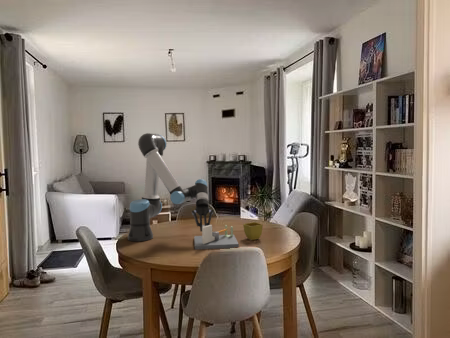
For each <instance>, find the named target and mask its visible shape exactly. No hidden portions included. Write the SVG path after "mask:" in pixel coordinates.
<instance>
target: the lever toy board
mask: <svg viewBox="0 0 450 338" xmlns="http://www.w3.org/2000/svg"><path fill="white" fill-rule="evenodd" d="M233 226H234V225H233ZM233 226H232V225H231V226H230V234H228V225H227V224H224V229H227V230H226V231H224V234H219V240H214V241H211V242H208V243H205V244H203V243H202V235H194V238H193V239H194V250H213V249H214V250H215V249H218V250H219V249H235V248H234V247H239V248H240V245H239V242H238V240H237V238H236V235H235V234H234V227H233Z"/></svg>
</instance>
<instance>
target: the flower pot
mask: <svg viewBox="0 0 450 338" xmlns="http://www.w3.org/2000/svg"><path fill="white" fill-rule="evenodd" d="M242 225H243V232H244V235H245V237H246V238H247V239H249V240H250V241H255V240H259V239H260V238H261V236H262V234H263V224H261V223H260V222H255V221H254V222H248V223H247V222H246V223H243V224H242Z"/></svg>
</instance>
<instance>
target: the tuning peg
mask: <svg viewBox="0 0 450 338" xmlns="http://www.w3.org/2000/svg"><path fill="white" fill-rule="evenodd" d="M226 230H227V231H228V228H227V229H225V228H224V229H222V230H218V231H213V224H210V225H208V226H204V227H202V232H201V236H202V243H203V244H205V243H208V242H211V241H214V240H219V235H220V233H224V232H225V231H226Z"/></svg>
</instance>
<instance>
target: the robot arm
mask: <svg viewBox="0 0 450 338" xmlns="http://www.w3.org/2000/svg"><path fill="white" fill-rule="evenodd" d="M137 146H138V148H139V151H140V152H141V154H142V156H143V157H144V158H145V159H146V163H145V165H146V166H145V177H144V178H145V179H144V192H143V193H144V194H143V195H141V199H135V200H132V201H131V202H130V203H129V224H130V225H129V231H128V233H127V240H128V241H129V242H145V241H150V240H152V239H153V238H154V233H153V230H152V228H151V223H150V222H151V220H150V219H151V218H155V217H157V216H158V215H159V214H160V213H161V211H162V209H163V203H162V202H161V196H160V195H159V184H160V183H159V182H160V181H161V182H162V183H163V185H164V187H165V188H166V191H167V192H168V193H169V195H170V201H171V202H172V203H173V204H175V205H178V204H179V205H180V204H182V203H185V202H188V201H191V200H192V199H195V209H194V210H191V215H192V216H193V218H194V221H195V225H196V226H197V227H199V231H200V232H201V233H202V227H204V226H208V225H211V220H212V216H213V214H214V209H210V206H209V204H210V203H209V195H208V192H209V191H208V183H207V181H206V180H205V179H202V178H201V179H197V180H196V181H195V183H194V185H191V186H188V187H186V188H183V189H182V187H181V185H180V183H179V182H178V181H177V179H176V178H175V176H174V175H173V173H172V171H171V170H170V168H169V167H168V165H167V163H166V162H165V161H164V158H163V156H164V151H165V150H166V147H167V140H166V138H165V136H163V135H162V134H159V133H149V132H147V133H144V134H142V135H141V136H140V137H139V138H138V143H137ZM208 214H209V215H208ZM197 215H198V216H199V219H198V216H197ZM207 215H208V218H207ZM207 219H208V220H207ZM203 222H204V224H203Z"/></svg>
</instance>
